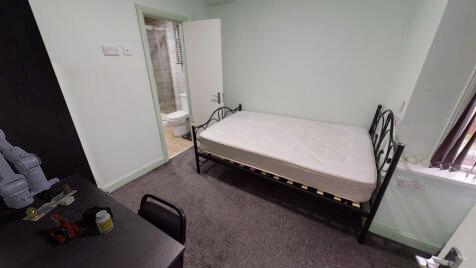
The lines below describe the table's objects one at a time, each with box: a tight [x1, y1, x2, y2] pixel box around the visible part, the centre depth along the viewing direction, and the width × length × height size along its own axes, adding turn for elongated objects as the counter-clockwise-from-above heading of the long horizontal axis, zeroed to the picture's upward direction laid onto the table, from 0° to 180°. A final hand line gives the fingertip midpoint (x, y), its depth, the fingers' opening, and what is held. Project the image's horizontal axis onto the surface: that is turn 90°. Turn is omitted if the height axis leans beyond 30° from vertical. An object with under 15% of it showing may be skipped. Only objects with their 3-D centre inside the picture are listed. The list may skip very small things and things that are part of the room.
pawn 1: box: [25, 206, 40, 221], centre depth 86 cm, size 4×4×6 cm
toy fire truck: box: [49, 212, 81, 244], centre depth 78 cm, size 7×12×10 cm, turn 67°
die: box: [59, 195, 76, 206], centre depth 96 cm, size 4×4×4 cm
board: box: [21, 189, 78, 222], centre depth 96 cm, size 8×22×1 cm, turn 176°
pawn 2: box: [61, 184, 73, 195], centre depth 102 cm, size 4×4×6 cm
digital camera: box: [81, 205, 114, 226], centre depth 86 cm, size 10×5×7 cm, turn 94°
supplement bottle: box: [96, 210, 115, 235], centre depth 81 cm, size 5×5×10 cm
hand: (48, 202), depth 87 cm, fingers closed
